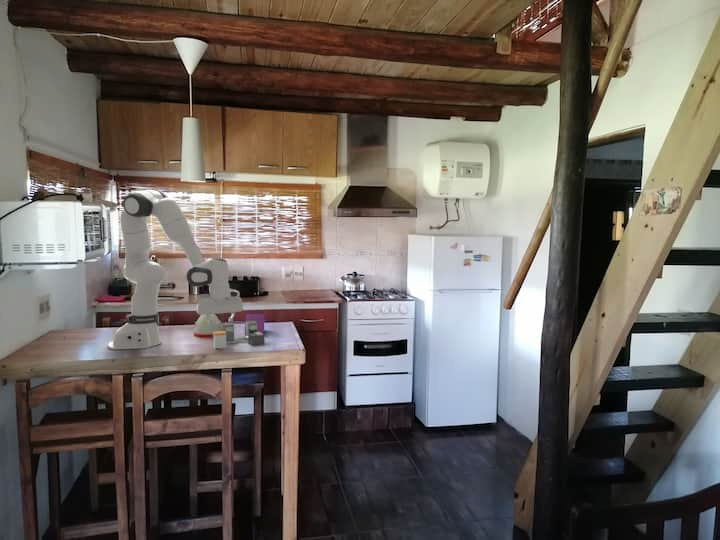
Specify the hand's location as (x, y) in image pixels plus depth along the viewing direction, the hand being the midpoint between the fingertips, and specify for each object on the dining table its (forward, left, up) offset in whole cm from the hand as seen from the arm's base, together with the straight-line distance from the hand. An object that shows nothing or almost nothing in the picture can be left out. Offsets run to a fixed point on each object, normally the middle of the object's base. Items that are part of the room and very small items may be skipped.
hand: (220, 322), depth 221 cm
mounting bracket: (+21, +22, -12) cm, 32 cm away
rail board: (+11, +9, -12) cm, 18 cm away
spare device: (+17, 0, -12) cm, 20 cm away
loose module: (0, 0, -12) cm, 12 cm away
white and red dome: (-1, +29, -12) cm, 31 cm away
